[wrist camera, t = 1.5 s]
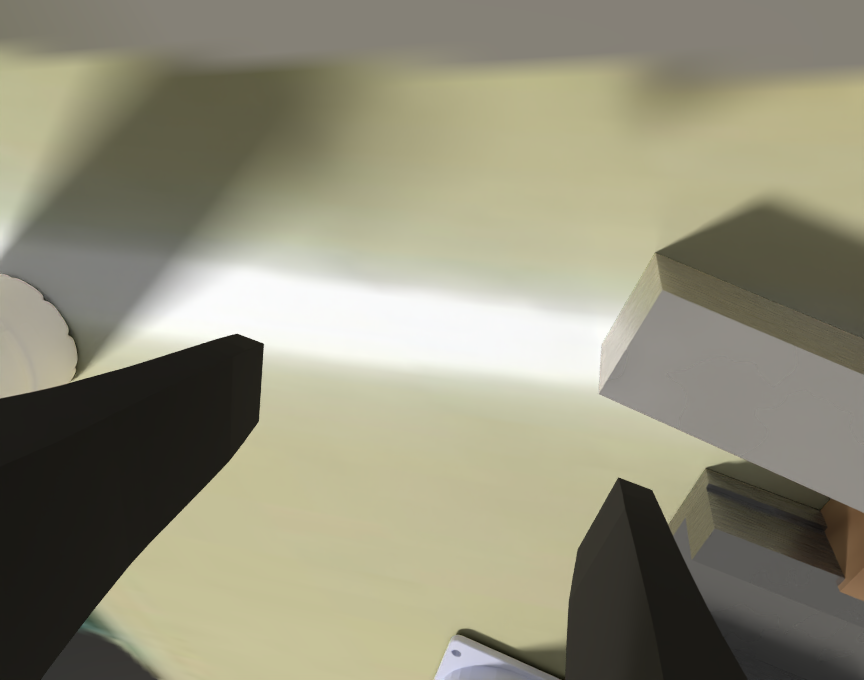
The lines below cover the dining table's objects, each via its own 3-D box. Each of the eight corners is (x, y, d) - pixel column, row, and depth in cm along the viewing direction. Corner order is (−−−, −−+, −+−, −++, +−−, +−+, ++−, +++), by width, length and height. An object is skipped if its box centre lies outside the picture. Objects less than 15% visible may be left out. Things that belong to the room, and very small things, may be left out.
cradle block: (844, 711, 23) (871, 788, 20) (610, 613, 24) (609, 673, 22) (1007, 579, 18) (1065, 657, 16) (705, 468, 20) (717, 524, 17)
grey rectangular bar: (975, 504, 18) (1051, 597, 15) (601, 340, 19) (598, 393, 16) (1077, 424, 16) (1187, 511, 13) (654, 249, 17) (662, 290, 14)
